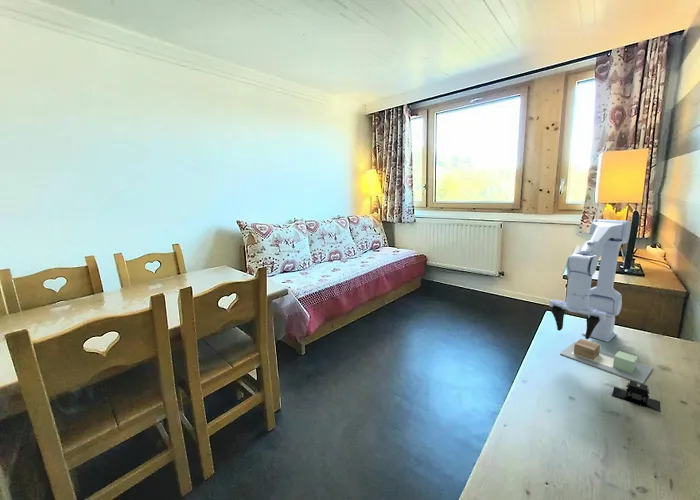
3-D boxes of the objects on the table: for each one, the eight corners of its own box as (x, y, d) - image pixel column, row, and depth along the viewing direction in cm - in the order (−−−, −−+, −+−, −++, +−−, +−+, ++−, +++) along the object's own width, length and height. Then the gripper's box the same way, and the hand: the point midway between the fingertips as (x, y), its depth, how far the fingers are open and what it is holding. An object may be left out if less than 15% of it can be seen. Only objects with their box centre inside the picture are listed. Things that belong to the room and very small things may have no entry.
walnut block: (579, 347, 110) (580, 338, 109) (599, 354, 105) (600, 344, 105) (573, 353, 107) (574, 343, 106) (593, 360, 102) (594, 350, 101)
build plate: (574, 342, 114) (574, 341, 114) (653, 368, 97) (653, 367, 97) (560, 354, 107) (560, 353, 107) (642, 384, 90) (642, 383, 90)
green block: (617, 361, 101) (619, 350, 100) (636, 367, 98) (638, 356, 97) (612, 366, 99) (614, 356, 98) (632, 373, 95) (633, 362, 94)
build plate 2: (668, 404, 83) (671, 389, 82) (668, 420, 78) (672, 403, 77) (607, 384, 92) (610, 370, 91) (604, 397, 86) (607, 382, 85)
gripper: (546, 290, 101) (542, 329, 104) (602, 302, 89) (596, 346, 92) (556, 285, 105) (552, 323, 108) (610, 296, 93) (604, 339, 96)
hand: (573, 333), depth 100 cm, fingers open, 7 cm apart
